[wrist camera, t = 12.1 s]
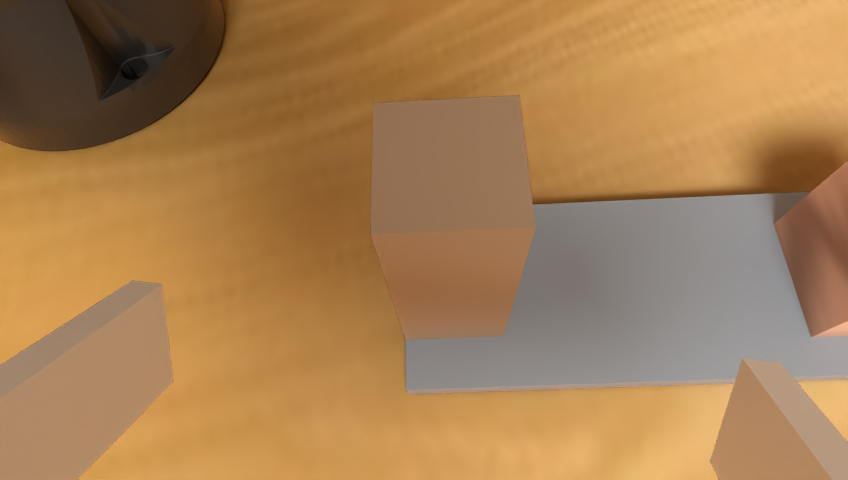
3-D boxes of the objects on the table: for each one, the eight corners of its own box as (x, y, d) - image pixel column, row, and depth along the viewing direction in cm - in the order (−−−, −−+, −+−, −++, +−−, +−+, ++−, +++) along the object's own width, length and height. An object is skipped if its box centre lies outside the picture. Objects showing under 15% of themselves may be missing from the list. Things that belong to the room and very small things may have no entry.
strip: (406, 220, 26) (374, 48, 16) (887, 198, 25) (1172, 1, 15) (407, 394, 22) (368, 313, 12) (964, 375, 22) (1399, 273, 12)
